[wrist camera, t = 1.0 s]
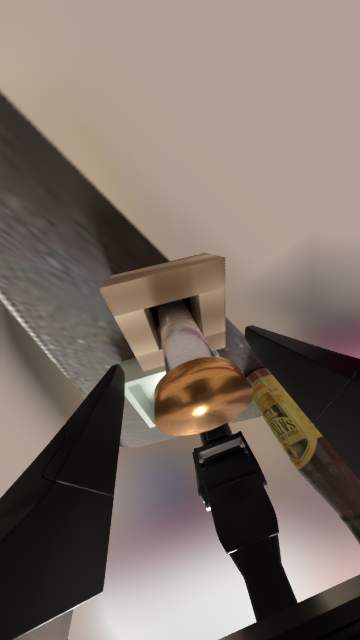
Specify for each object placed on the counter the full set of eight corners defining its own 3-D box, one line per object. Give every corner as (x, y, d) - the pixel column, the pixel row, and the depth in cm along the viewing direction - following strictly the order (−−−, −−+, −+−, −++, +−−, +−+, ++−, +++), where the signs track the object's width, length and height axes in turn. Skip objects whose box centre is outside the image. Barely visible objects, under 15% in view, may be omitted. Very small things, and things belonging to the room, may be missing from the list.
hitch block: (210, 326, 18) (225, 347, 14) (144, 345, 17) (143, 371, 14) (205, 252, 13) (225, 257, 10) (112, 275, 12) (98, 288, 9)
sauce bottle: (245, 368, 24) (456, 646, 8) (275, 363, 25) (516, 596, 9) (238, 389, 28) (373, 614, 11) (264, 384, 29) (424, 581, 12)
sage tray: (212, 385, 25) (221, 404, 22) (150, 404, 24) (150, 427, 21) (208, 336, 18) (219, 354, 16) (122, 361, 18) (117, 385, 15)
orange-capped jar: (191, 316, 16) (248, 416, 7) (156, 326, 16) (168, 444, 7) (186, 281, 14) (259, 363, 5) (145, 292, 14) (138, 401, 4)
